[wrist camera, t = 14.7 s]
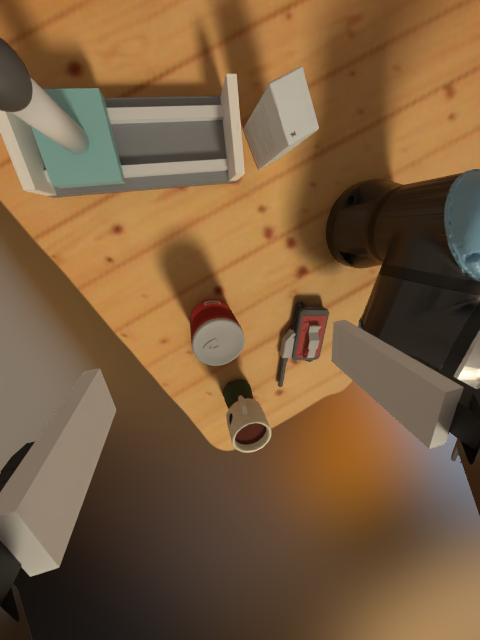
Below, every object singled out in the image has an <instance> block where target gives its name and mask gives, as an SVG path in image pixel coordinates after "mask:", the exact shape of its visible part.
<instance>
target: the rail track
mask: <svg viewBox="0 0 480 640" xmlns="http://www.w3.org/2000/svg"><path fill="white" fill-rule="evenodd" d="M104 100H105V103H106V107H107V111H108V115H109V119H110V123H111V127H112V131H113V135H114V139H115V143H116V147H117V151H118V155H119V159H120V163H121V167H122V171H123V175H124V179H125V183H124V184H111V185H98V186H84V187H71V188H57V187H54V186H52V184H51V181H50V178H49V176H48V173H47V170H46V167H45V164H44V162H43V159H42V156H41V153H40V150H39V148H38V145H37V142H36V139H35V137H34V134H33V131H32V128H31V125H29V124H28V123H26V122H25V121H23V120H22V119H20V118H19V117H18V116H16V115H15V114H13V113H12V112H5V111H1V110H0V133H1V135H2V138H3V140H4V143H5V145H6V148H7V150H8V153H9V155H10V158H11V160H12V163H13V165H14V168H15V170H16V173H17V175H18V178H19V180H20V183H21V185H22V188H23V190H24V191H28V192H32V193H37V194H41V195H45V196H49V197H54V198H55V197H67V196H79V195H92V194H104V193H116V192H128V191H141V190H153V189H165V188H177V187H189V186H202V185H214V184H226V183H235V182H236V181H237V180H238V179H239V178H240V177H241V176H243V175H244V174H245V172H244V159H243V147H242V135H241V122H240V110H239V98H238V85H237V74H226V77H225V81H224V84H223V88H222V91H221V95H220V96H191V97H137V98H104Z"/></svg>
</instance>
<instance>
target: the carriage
mask: <svg viewBox="0 0 480 640" xmlns="http://www.w3.org/2000/svg"><path fill="white" fill-rule="evenodd" d="M0 110H1V111H5V112H12V113H13V114H15V115H16V116H18V117H19V118H20V119H22V120H23V121H25V122H26V123H28V124H29V125H31V128H32V131H33V134H34V137H35V139H36V142H37V145H38V148H39V150H40V153H41V156H42V159H43V162H44V164H45V167H46V170H47V173H48V176H49V178H50V181H51V184H52V186H54V187H57V188H71V187H84V186H98V185H111V184H124V183H125V179H124V175H123V171H122V167H121V163H120V159H119V155H118V151H117V147H116V143H115V139H114V135H113V131H112V127H111V123H110V119H109V115H108V111H107V107H106V103H105V100H104V96H103V95H102V93H101V92H100V90H99V88H70V89H42V88H41V87H40V86H39V85H38V84H37V83H36V82H35V81H34V80H33V79H32V78H31V77H30V76H29V73H28V71H27V69H26V67H25V65H24V63H23V62H22V60H21V59H20V57H19V56H18V55H17V53H16V52H15V51H14V50H13V49H12V48H11V47H10V46H9V45H8V44H7V43H6V42H5V41H4V40H3V39H2V38H0Z"/></svg>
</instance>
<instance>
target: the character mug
mask: <svg viewBox="0 0 480 640" xmlns="http://www.w3.org/2000/svg"><path fill="white" fill-rule="evenodd" d="M223 396H224V398H225V402H226V405H227V407H228V409H229V410H228V412H227V415H226V418H227V424H228V428H229V432H230V436H231V441H232V444H233V447H234V448H235V449H236V450H239V451H241V452H254V451H257V450H259V449H261V448H263V447H264V446H265V445H266V444H267V443H268V441H269V439H270V437H271V428H270V426H269V424H268V421H267V419H266V417H265V415H264V412H263V410H262V408H261V406H260V404H259V402H257V401H256V400H254V399H253V395H252V391H251V387H250V385H249V384H248V383H247V382H245V381H234V382H231V383H229V384H228V385H227V386H226V387H225V388H224V391H223Z"/></svg>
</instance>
